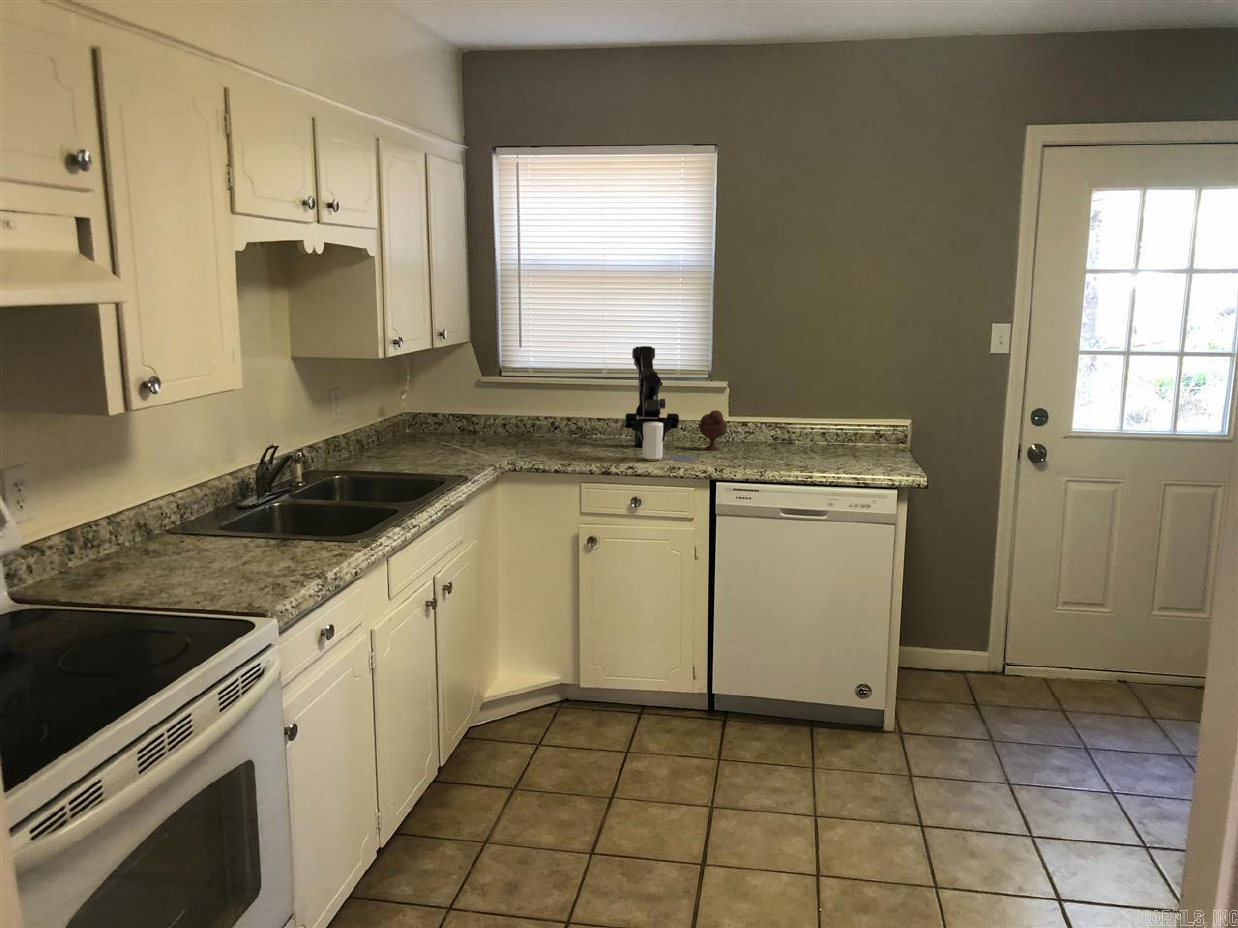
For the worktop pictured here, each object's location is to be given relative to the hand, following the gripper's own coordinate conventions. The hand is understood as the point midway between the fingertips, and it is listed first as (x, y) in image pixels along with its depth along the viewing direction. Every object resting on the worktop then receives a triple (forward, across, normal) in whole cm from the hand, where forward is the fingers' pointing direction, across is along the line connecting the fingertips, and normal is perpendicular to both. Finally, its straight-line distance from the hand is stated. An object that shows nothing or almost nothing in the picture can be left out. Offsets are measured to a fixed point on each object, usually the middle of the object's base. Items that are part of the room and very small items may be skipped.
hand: (653, 440), depth 325 cm
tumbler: (+3, 0, +5) cm, 6 cm away
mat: (+2, +11, +9) cm, 14 cm away
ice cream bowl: (-12, +25, +24) cm, 37 cm away
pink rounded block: (+4, 0, +6) cm, 8 cm away
